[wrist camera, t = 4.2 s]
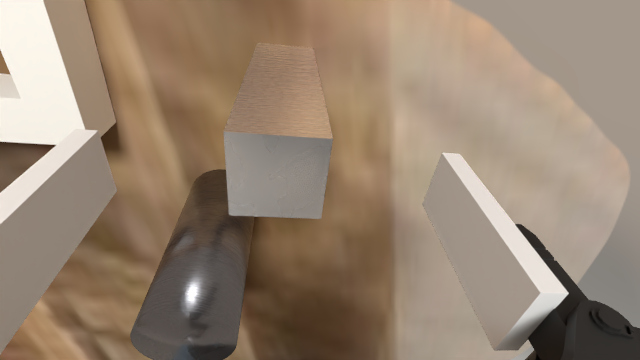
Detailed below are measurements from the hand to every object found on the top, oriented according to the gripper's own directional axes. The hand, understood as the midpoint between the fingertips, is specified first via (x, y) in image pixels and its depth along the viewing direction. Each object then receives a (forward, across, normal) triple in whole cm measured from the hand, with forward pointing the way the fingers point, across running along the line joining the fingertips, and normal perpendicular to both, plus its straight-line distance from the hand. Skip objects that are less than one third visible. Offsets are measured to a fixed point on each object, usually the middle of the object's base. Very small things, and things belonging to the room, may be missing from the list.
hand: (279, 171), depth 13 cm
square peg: (+14, 0, 0) cm, 14 cm away
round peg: (+14, +5, +12) cm, 19 cm away
